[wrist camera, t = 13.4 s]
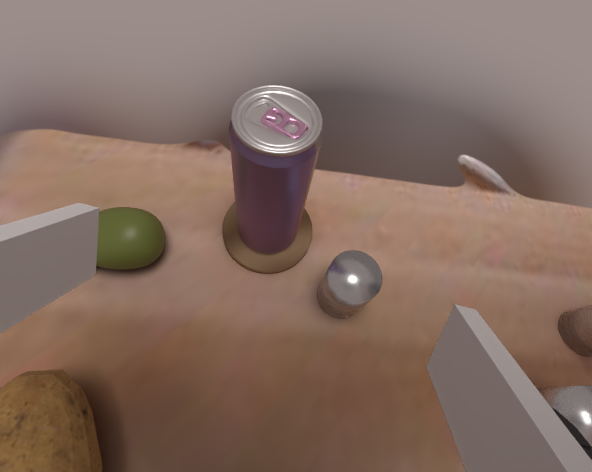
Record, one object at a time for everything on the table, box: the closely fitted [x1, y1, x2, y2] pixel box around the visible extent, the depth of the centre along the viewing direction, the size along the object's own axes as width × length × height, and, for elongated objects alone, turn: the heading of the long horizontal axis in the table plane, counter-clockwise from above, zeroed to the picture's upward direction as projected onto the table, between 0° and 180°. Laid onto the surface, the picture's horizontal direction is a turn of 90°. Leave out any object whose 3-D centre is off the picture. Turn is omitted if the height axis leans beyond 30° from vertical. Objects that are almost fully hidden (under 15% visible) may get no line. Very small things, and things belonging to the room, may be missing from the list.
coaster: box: [223, 203, 312, 274], centre depth 35 cm, size 9×9×1 cm
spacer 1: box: [317, 250, 382, 318], centre depth 30 cm, size 4×4×6 cm
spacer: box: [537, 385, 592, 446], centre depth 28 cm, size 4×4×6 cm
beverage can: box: [229, 85, 322, 253], centre depth 27 cm, size 6×6×15 cm
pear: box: [96, 207, 165, 270], centre depth 30 cm, size 6×5×10 cm
